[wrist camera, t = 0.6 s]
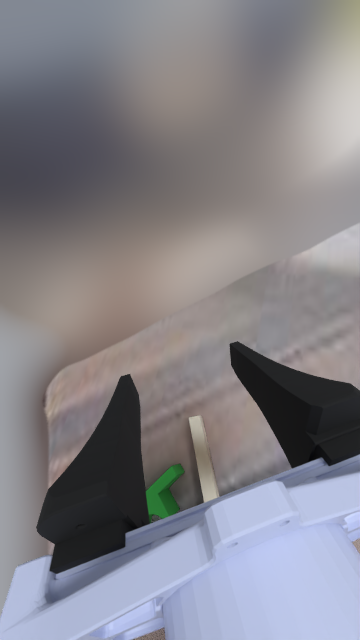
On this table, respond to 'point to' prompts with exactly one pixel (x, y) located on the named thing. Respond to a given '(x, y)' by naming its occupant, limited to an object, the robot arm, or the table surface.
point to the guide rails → (203, 459)
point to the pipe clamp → (163, 494)
